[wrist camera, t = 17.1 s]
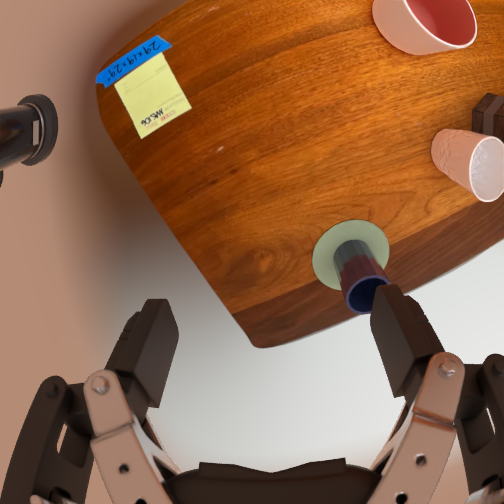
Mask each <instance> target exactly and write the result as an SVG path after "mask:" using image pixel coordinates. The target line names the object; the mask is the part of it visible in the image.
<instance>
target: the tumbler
mask: <svg viewBox="0 0 504 504" xmlns="http://www.w3.org/2000/svg"><path fill="white" fill-rule="evenodd" d="M333 264H334V268H335V271H336V274H337V277H338V280H339V283H340V286H341V289H342V292H343V295H344V299H345V302H346V304H347V307H348V309H350V310H351V311H352V312H354V313H357V314H370V313H371V311H372V306H373V301H374V296H375V291H376V288H377V286H380V285H389V284H391V283H390V281H389V279H388V277H387V276H386V274H385V272H384V270H383V268H382V267H381V265H380V263H379V261H378V260H377V258H376V256H375V255H374V253H373V251H372V249H371V248H370V247H369V245H368V244H367V243H365V242H364V241H361V240H349V241H346V242H344V243H343V244H341V245H340V246H339V247H338V248H337V250H336V251H335V253H334V256H333Z"/></svg>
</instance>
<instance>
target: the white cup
mask: <svg viewBox="0 0 504 504" xmlns="http://www.w3.org/2000/svg"><path fill="white" fill-rule="evenodd" d="M431 155H432V160H433V162H434V164H435V166H436V167H437V169H438V170H440V171H441V172H443V173H445V174H446V175H447V176H448V177H449V178H450V179H452V180H453V181H455V182H456V183H457V184H459V185H460V186H462V187H463V188H465V189H466V190H467V191H469V192H470V193H472V194H473V195H474V196H476V197H477V198H478V199H480V200H481V201H484V202H491V201H494V200H496V199H497V198H498V197H499V196H500V195H501V194H502V193H503V191H504V144H503V142H502V141H501V140H499V139H498V138H496V137H493V136H489V135H484V134H480V133H476V132H471V131H466V130H456V129H443V130H441V131H439V132H438V133H437V134H436V136H435V137H434V139H433V141H432V147H431Z"/></svg>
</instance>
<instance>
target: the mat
mask: <svg viewBox="0 0 504 504" xmlns="http://www.w3.org/2000/svg"><path fill="white" fill-rule="evenodd" d="M349 240H361V241H364V242H365V243H367V244H368V245H369V247H370V248H371V249H372V251H373V253H374V255H375V256H376V258H377V260H378V261H379V263H380V265H381V267H382V268H383V269H384V268H385V266H386V264H387V261H388V257H389V244H388V240H387V238H386V236H385V234H384V233H383V231H382V230H381V229H380V228H379V227H378V226H376V225H375V224H373V223H371V222H368V221H365V220H347V221H344V222H341V223H338V224H336V225H334V226H333V227H331V228H330V229H328V230H327V231H326V232H325V233H324V234H323V235H322V236H321V237H320V239H319V240H318V242H317V244H316V246H315V248H314V251H313V256H312V264H313V269H314V272H315V274H316V276H317V277H318V278H319V280H320V281H321V282H322V283H324V284H325V285H327V286H328V287H330V288H333V289H337V290H342V289H341V286H340V283H339V280H338V277H337V274H336V271H335V268H334V264H333V256H334V253H335V251H336V250H337V248H338V247H339V246H340V245H341V244H343V243H344V242H346V241H349Z"/></svg>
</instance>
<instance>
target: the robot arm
mask: <svg viewBox="0 0 504 504" xmlns="http://www.w3.org/2000/svg"><path fill="white" fill-rule="evenodd" d="M45 133H46V124H45V118H44V115H43V112H42V110H41V109H40V107H39V106H38V105H36V104H34V103H26V104H23V105H18V106H14V107H9V108H4V109H0V187H1V184H2V180H3V170H4V169H6V168H8V167H10V166H12V165H15V164H17V163H19V162H22V161H24V160H28V159H30V158H33V157H35V156H36V155H37V154H38V153H39V152H40V150H41V148H42V146H43V143H44V139H45ZM428 321H429V320H428V319H427V317H426V315H424V312H423V310H422V308H421V307H420V305H419V303H418V302H416V301H415V300H414V299H413V298H411V297H410V296H409V295H407V296H404V295H403V293H402V292H401V290H400V288H399V286H398V285H397V284H389V285H380V286H377V288H376V291H375V296H374V301H373V306H372V311H371V316H370V326H371V331H372V334H373V336H374V339H375V342H376V344H377V347H378V350H379V353H380V356H381V359H382V362H383V365H384V367H385V371H386V374H387V377H388V380H389V383H390V386H391V389H392V392H393V396H394V398H396V397H400V396H404V397H405V400H406V402H405V404H404V406H403V408H402V410H401V413H400V415H399V417H398V419H397V421H396V424H395V426H394V428H393V430H392V432H391V434H390V436H389V438H388V440H387V442H386V444H385V445H384V447H383V449H382V450H381V452H380V453H379V454H378V456H377V457H376V459H375V461H374V462H373V464H372V465H371V467H370V469H367V468H364V467H361V466H356V465H350V464H346V460H345V458H340V459H333V460H325V461H317V462H309V463H306V464H303V465H300V466H296V467H293V468H289V469H286V470H282V471H278V472H273V473H269V472H264V471H259V470H255V469H250V468H246V467H242V466H239V465H234V464H218V463H205V462H200V463H199V469H194V470H190V471H186V472H183V473H181V471H180V470H179V468H178V467H177V465H176V464H175V463H174V461H173V460H172V459H171V458H170V457H169V455H168V454H167V452H166V450H165V448H164V446H163V445H162V443H161V441H160V440H159V437H158V435H157V433H156V431H155V430H154V428H153V426H152V424H151V422H150V420H149V417H148V416H147V414H146V413H147V410H148V407H154V408H159V405H160V402H161V398H162V395H163V391H164V387H165V384H166V380H167V377H168V373H169V370H170V367H171V363H172V359H173V356H174V353H175V350H176V346H177V343H178V338H179V332H178V327H177V324H176V321H175V319H174V316H173V313H172V310H171V307H170V305H169V302H168V300H167V299H148V300H147V301H146V302H145V304H144V306H143V308H142V310H141V312H136V313H135V314H134V315H133V316H132V317H131V318H130V319H129V320H128V321H127V323H126V325H125V327H124V329H123V332H122V334H121V335H120V337H119V340H118V341H117V343H116V345H115V347H114V349H113V352H112V354H111V356H110V358H109V360H108V362H107V364H106V366H105V368H104V370H99V371H96V372H94V373H93V374H91V375H90V376H89V377H88V378H87V380H86V382H85V383H78V384H70V385H68V384H67V383H66V382H65V380H64V379H62V377H60V376H51V377H49V378H47V379H45V380H44V381H43V382H42V384H41V385H40V387H39V389H38V391H37V394H36V396H35V398H34V400H33V403H32V405H31V407H30V409H29V412H28V414H27V417H26V419H25V421H24V424H23V426H22V429H21V432H20V434H19V437H18V440H17V442H16V445H15V448H14V451H13V454H12V457H11V460H10V464H9V467H8V470H7V474H6V478H5V482H4V485H3V490H2V494H1V498H0V504H84V503H85V498H86V492H87V488H88V483H89V478H90V474H91V470H92V466H93V461H94V458H95V460H96V463H97V466H98V469H99V472H100V474H101V477H102V479H103V482H104V484H105V487H106V489H107V492H108V494H109V496H110V498H111V500H112V503H113V504H428V503H429V501H430V499H431V497H432V495H433V493H434V491H435V489H436V487H437V484H438V482H439V480H440V478H441V475H442V473H443V470H444V468H445V465H446V462H447V460H448V457H449V455H450V451H451V449H452V446H453V443H454V440H455V437H456V433H457V436H458V440H459V444H460V448H461V452H462V457H463V462H464V466H465V472H466V477H467V483H468V489H469V497H468V498H467V500H466V501H465V503H464V504H504V356H502V355H500V354H491V355H489V356H488V357H487V358H486V359H485V361H484V362H483V364H463V362H462V361H461V359H460V358H459V357H457V356H456V355H454V354H452V353H449V352H445V350H444V348H443V346H442V344H441V342H440V340H439V339H438V337H437V335H436V333H435V331H434V329H433V328H432V326H431V324H430V323H429V322H428ZM487 408H488V409H489V412H490V415H491V418H492V421H493V424H494V427H495V434H494V431H493V428H492V425H491V422H490V419H489V416H488V413H487V410H486V409H487ZM453 422H454V425H453ZM64 424H65V425H66V426H67V430H66V433H65V436H64V439H63V442H62V445H61V448H60V452H59V453H58V451H57V442H58V439H59V436H60V433H61V430H62V428H63V425H64Z"/></svg>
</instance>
